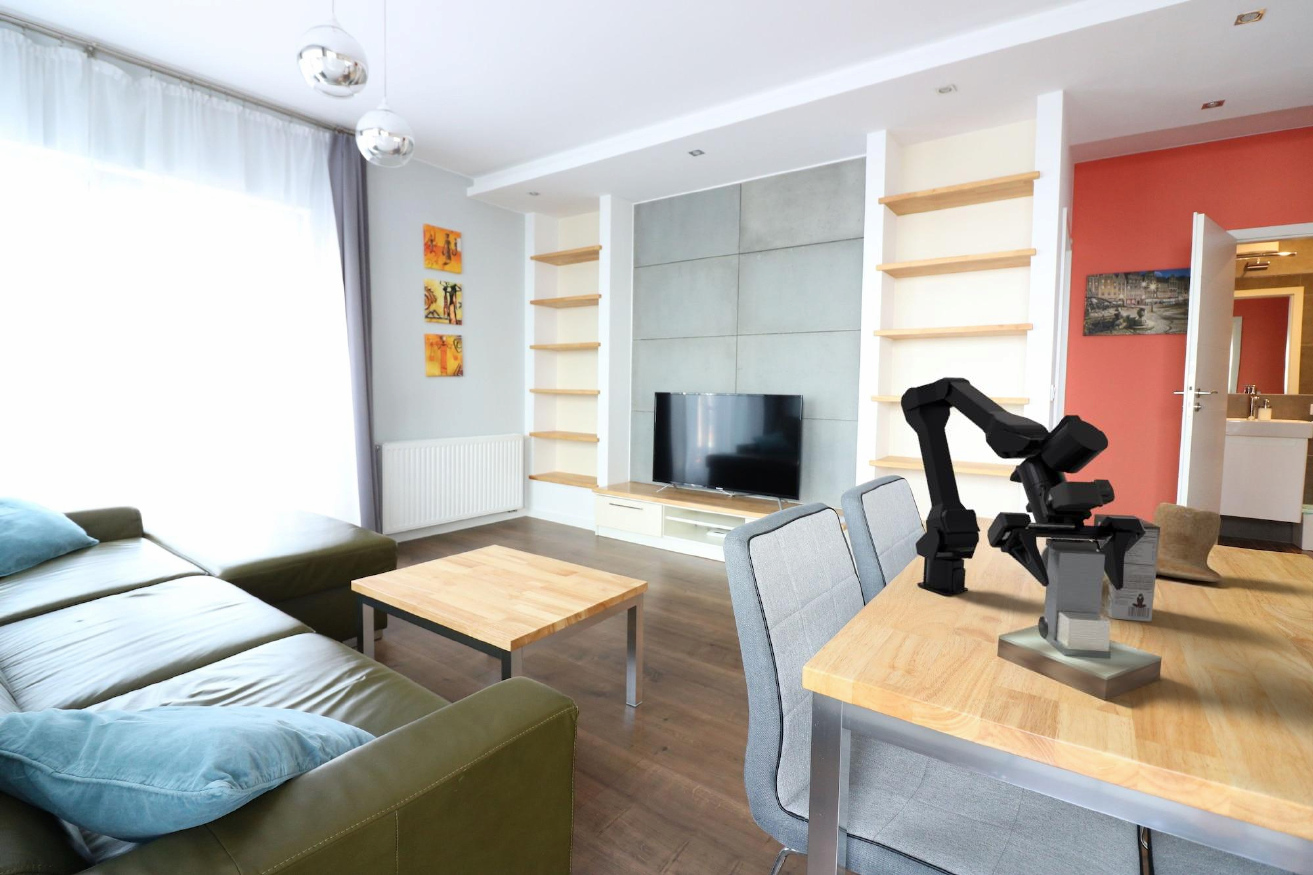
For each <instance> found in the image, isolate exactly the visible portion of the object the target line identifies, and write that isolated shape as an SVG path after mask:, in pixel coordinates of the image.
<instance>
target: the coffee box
mask: <svg viewBox="0 0 1313 875" xmlns="http://www.w3.org/2000/svg"><path fill="white" fill-rule="evenodd" d="M1093 516H1094V517H1093V526H1099V525H1100V524H1101V523H1102V521H1103V520H1104V519H1105V518H1106V517H1107V516H1117V517H1134V518H1137V519H1139V520H1140V522H1141V523H1142V525H1143V527H1144V529H1145V531H1146V533H1145V534H1144V535H1143V536H1142V537H1141V538H1140V539H1139V540H1138V541H1137V542H1136V543H1135V544H1134V545H1133V546H1132V547H1131V548H1130V549H1129V550H1128V551H1127V552H1125V557H1124V579H1123V588H1122V589H1121V590H1116V589H1115V587H1114V586H1113V585H1112V583H1111V582H1110V580H1109V578H1108V576H1107V574H1106V572H1105V571H1104V574H1103V586H1102V598H1101V611H1100V612H1102V613H1104V614H1105V615H1106V616H1107V617H1109V618H1110V619H1112V620H1113V619H1114V620H1125V621H1137V622H1138V621H1139V622H1152V621H1153V620H1152V619H1153V609H1154V600H1155V599H1154V598H1155V589H1156V588H1155V587H1156V576H1157V575H1156V569H1157V559H1158V549H1159V539H1160V529H1161V527H1158V526H1156V525H1154V524H1153V523H1151V522H1149V521H1146V520H1145V519H1142V518H1139V517H1137V516H1135V515H1128V514H1127V515H1125V514H1123V515H1122V514H1102V513H1100V514H1099V513H1098V514H1097V513H1095V514H1094V515H1093ZM1097 551H1099V550H1098V549H1097Z"/></svg>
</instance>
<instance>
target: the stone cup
mask: <svg viewBox="0 0 1313 875" xmlns="http://www.w3.org/2000/svg"><path fill="white" fill-rule="evenodd" d="M1152 521H1153V523H1152V524H1154V525H1156V526H1158V527H1161V529H1160V539H1159V549H1158V559H1157V569H1156V576H1161V577H1162V576H1163V577H1168V578H1169V577H1170V578H1174V579H1183V580H1190V581H1191V580H1192V581H1200V582H1201V581H1203V582H1219V581H1220V580H1221V579H1222V576H1221V574H1220V573H1219V572H1217V571H1215V570H1214V569H1212V568H1211V567H1210V566H1209V564H1208V558H1209V555H1210V552H1211V551H1212V549H1213V548H1214V546H1215V544H1216V542H1217V540H1218V538H1219V536H1220V529H1221V522H1222V520H1221V516H1220V515H1219V513H1217V512H1215V511H1212V510H1207V509H1201V508H1195V507H1187V506H1185V505H1180V504H1175V503H1169V502H1161V503H1159V504H1158V505H1157V507H1156V509H1155V511H1154V514H1153V520H1152Z"/></svg>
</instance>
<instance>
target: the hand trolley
mask: <svg viewBox="0 0 1313 875" xmlns="http://www.w3.org/2000/svg"><path fill="white" fill-rule="evenodd" d="M1045 546H1048V547H1049V555H1048V569H1047V575H1048V579H1049V585H1048V586H1047V587H1045V596H1044V597H1045V598H1044V609H1043V610H1044V612H1043V615H1042V616H1040V617H1039V618H1038V622H1037V625H1038V629H1039V633H1040V635H1041V637H1042V638H1044V639H1046V641H1047V642H1048V643H1049V644H1051V645H1052V646H1053V647H1054V648H1055V649H1057V650H1058V651H1059V652H1060V653H1061V654H1063V655H1064V656H1074V657H1089V658H1104V659H1110V657H1111V651H1110V650H1109V640H1111V639H1110V638H1111V624H1112V621H1111V620H1110V619H1108V618H1106V617H1105V616H1103V615H1102V614H1101V612H1102V611H1101V598H1102V586H1103V574H1104V561H1105V555H1104V554H1102V553H1100V552H1098V551H1097V544H1096V543H1094V542H1092V540H1077V539H1053V538H1046V537H1045Z"/></svg>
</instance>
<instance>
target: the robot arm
mask: <svg viewBox="0 0 1313 875" xmlns="http://www.w3.org/2000/svg"><path fill="white" fill-rule="evenodd" d="M900 405H901V406H900V407H901V410H902V413H903V416H904V419H905V422H906V423H907V424H908V425H909V426H910V428H911V429H912V430H913V431H914V432H915V433H916V435H917V438H918V440H917V441H918V444H919V449H920V453H921V458H922V464H923V469H924V473H925V480H926V484H927V489H928V494H929V495H928V496H929V498H930V500H929V501H930V505H931V508H930V510H929V512H928V515H927V518H926V520H925V528H926V531H925V533H923V535H922V536H921V537H920V538H919V539H918V540H917V541H916V542H915V549H916V554H917V555H918V556H919V557H922V558H924V561H923V562H924V563H923V580H922V581H921V582H920V581H919V582H917V583H916V584H917V587H921V588H923V589H925V590H928V591H932V592H934V593H937V594H940V595H941V596H942V595H943V596H951V595H955V594H960V593H966V592H968V591H969V588H968V587H966V572H967V571H966V568H965V559H968V560H972V559H973V557H974V554H975V551H976V548H977V546H978V544H979V542H980V533H979V532H981V529H980V527H979V525H978V521H977V512H976V511H975V510H974V509H972V508H970V509H969V508H968V509H967V508H966V506H964V504H963V503H962V501H961V498H960V494H959V490H958V489H959V488H958V485H957V480H956V475H955V471H954V467H953V466H954V464H953V462H952V455H951V452H950V448H949V442H948V438H947V432H946V426H947V424H948V422H949V419H950V418H951V417H950V416H951V409H952V408H955V409H956V410H957V411H958V412H959V413H961V414H962V415H963V416H964V417H966V418H967V419H968V420H969V421H970V422H972V423H973V424H974V425H975V426H977V427H978V428H979V429H980V430H982V432H983V433H984V435H985V436H984V437H985V442H986V444H987V445H988V446H989V447H990V448H991V450H992V451H993V453H995V454H996V456H997V457H999V458H1001V459H1003V460H1004V459H1005V460H1013V459H1021V460H1023V459H1024V460H1023V461H1022V462H1020V464H1019V465H1018V464H1017V465H1015V469H1014V471H1013V472H1012V473H1011V474H1010V477H1009V481H1010V482H1014V483H1019V484H1022V486H1023V489H1024V493H1025V495H1026V498H1027V501H1028V502H1027V504H1026V506H1025V510H1026V512H1006V511H1000V512H999V513H998V514H997V515H996V517H995V518H994V519H993V521H992V522H991V525H990V526H989V527H988V529H987V536H986V537H987V540H988V543H989V546H990V547H991V548H994V549H995V548H996V549H997V548H998V549H1000V551H1001V553H1004V554H1008V555H1009V556H1010V557H1012V558H1013V560H1015V561H1017V562H1018V563H1019V564H1020V565H1021V566H1022V567H1023V568H1024V569H1025V570H1026V571H1028V573H1030V575H1031V576H1032V577H1033V578H1034V579H1036V581H1037V582H1038V583H1039V584H1040V585H1041V586H1042V587H1045V588H1046V587H1047V586H1048V585H1049V579H1048V575H1047V571H1046V568H1045V566H1044V563H1043V560H1042V558H1041V553H1040V552H1041V551H1040V549H1039V547H1038V545H1037V543H1038V542H1037V538H1045V539H1046V538H1051V539H1074V540H1090V541H1092V542H1094V543H1096V544H1097V549H1098V550H1099V551H1098V552H1100V553H1102V554H1104V555H1105V561H1104V571H1105V572H1106V574H1107V576H1108V578H1109V580H1110V582H1111V583H1112V585H1113V586H1114V587H1115V589H1116V590H1121V589H1122V588H1123V579H1124V557H1125V552H1127V551H1128V550H1129V549H1130V548H1131V547H1132V546H1133V545H1134V544H1135V543H1136V542H1137V541H1138V540H1139V539H1140V538H1141V537H1142V536H1143V535H1144V534H1145V533H1146V531H1145V529H1144V527H1143V525H1142V523H1141V522H1140V520H1139V519H1137V518H1138V517H1137V518H1134V517H1117V516H1107V517H1106V518H1105V519H1104V520H1103V521H1102V523H1101V524H1100V525H1099V526H1094V525H1088V524H1087V525H1085V522H1084V521H1085V520H1089V519H1090V518H1091V517H1092V516H1093V514H1092V510H1094V509H1096V508H1102V507H1103V506H1104V505H1108V504H1110V503H1113V502H1114V500H1115V499H1116V496H1115V490H1114V488H1113V485H1112V484H1111V482H1110V480H1109V479H1097V478H1095V479H1094V480H1093V481H1073V480H1072V481H1068V480H1067V477H1066V474H1071V475H1073V474H1077V473H1080V472H1081V471H1082V470H1083V469H1084V468H1085V467H1086V466H1087V465H1089V463H1091V462H1092V461H1093V460H1094V459H1096V458H1097V457H1098V456H1099V455H1100V454H1101V453H1103V452H1104V451H1105V450H1106V449H1107V448H1108V446H1109V440H1108V437H1107V435H1106V434H1105V433H1104V432H1103V431H1102V430H1101V429H1098V428H1097V427H1096V426H1095V425H1093V424H1091V423H1090V422H1088V421H1086V420H1082V418H1081V416H1079V415H1078V414H1066V415H1064V416H1063V418H1062V419H1061V420H1060V421H1059V422H1058V424H1057V425H1056V426H1055V427H1054V428H1053V429H1052V430H1051V431H1048V429H1047V428H1046V427H1045V425H1043V424H1042V423H1040V422H1037V421H1035V420H1033V419H1031V418H1029V417H1025V416H1021V415H1019V414H1014V413H1011V412H1010V411H1009V410H1006V409H1005V408H1003V407H1002V406H1001V405H1000V404H998V403H996V401H994V400H993V399H991V398H990V397H989V396H987V395H986V394H985V393H983V392H982V391H981V390H979V389H978V388H976V387H975V386H974V385H972V384H971V381H970V380H969V379H967V378H964V377H950V376H948V377H947V376H945V377H943V378H939V379H938V380H934V382H931V383H927V384H923V385H920V386H916V387H915V386H913V387H912V386H911V387H909V388H907V389H906V391H905V392H904V393H903V394H902V396H901V398H900ZM1028 513H1031V514H1032V516H1033V519H1034V521H1035V522H1032V519H1031V516H1030V514H1028Z"/></svg>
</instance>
